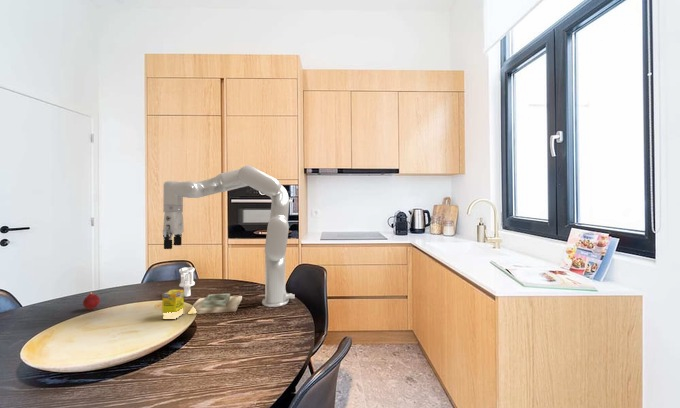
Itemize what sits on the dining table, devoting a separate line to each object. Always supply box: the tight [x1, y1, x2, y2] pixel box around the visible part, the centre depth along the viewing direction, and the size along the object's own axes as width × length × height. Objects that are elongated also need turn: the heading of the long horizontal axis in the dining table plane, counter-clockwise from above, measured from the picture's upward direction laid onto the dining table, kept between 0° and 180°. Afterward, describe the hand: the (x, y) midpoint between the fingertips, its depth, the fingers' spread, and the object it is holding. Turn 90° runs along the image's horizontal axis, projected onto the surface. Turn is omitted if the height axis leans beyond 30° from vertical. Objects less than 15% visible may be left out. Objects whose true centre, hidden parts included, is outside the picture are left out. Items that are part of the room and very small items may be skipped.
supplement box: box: [161, 289, 185, 313], centre depth 121 cm, size 6×6×11 cm
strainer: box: [178, 267, 196, 298], centre depth 147 cm, size 7×7×15 cm
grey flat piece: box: [192, 293, 243, 315], centre depth 133 cm, size 20×16×4 cm
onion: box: [82, 291, 101, 311], centre depth 129 cm, size 6×6×8 cm
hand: (173, 247), depth 127 cm, fingers open, 9 cm apart
